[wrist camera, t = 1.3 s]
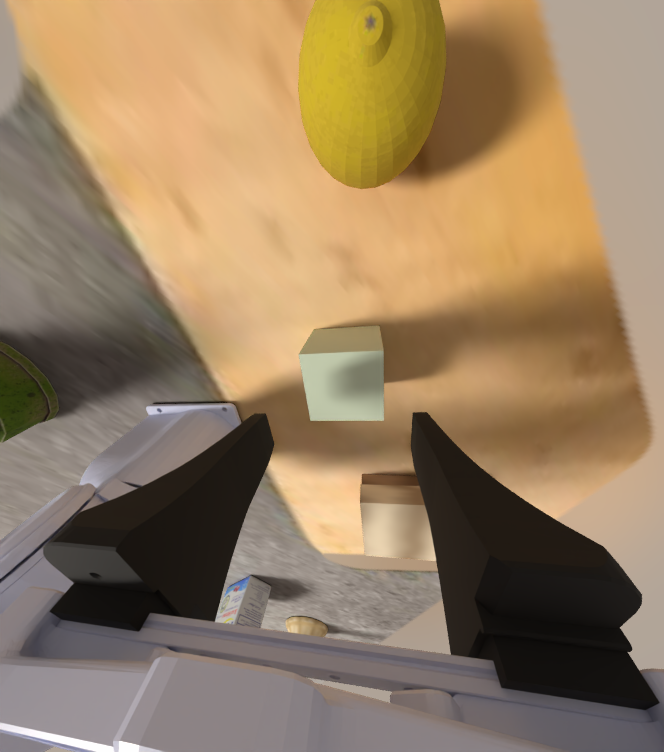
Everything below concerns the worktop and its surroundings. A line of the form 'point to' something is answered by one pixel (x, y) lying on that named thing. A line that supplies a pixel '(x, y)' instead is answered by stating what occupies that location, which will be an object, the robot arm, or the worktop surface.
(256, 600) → the medicine box
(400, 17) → the lemon
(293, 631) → the hand bell
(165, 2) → the worktop surface
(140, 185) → the worktop surface
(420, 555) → the slab top
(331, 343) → the cube
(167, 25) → the worktop surface
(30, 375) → the lantern
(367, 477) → the slab bottom
